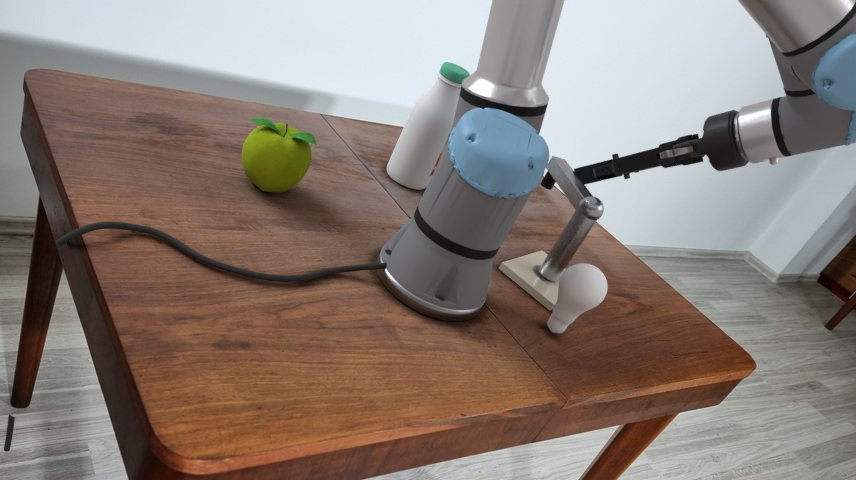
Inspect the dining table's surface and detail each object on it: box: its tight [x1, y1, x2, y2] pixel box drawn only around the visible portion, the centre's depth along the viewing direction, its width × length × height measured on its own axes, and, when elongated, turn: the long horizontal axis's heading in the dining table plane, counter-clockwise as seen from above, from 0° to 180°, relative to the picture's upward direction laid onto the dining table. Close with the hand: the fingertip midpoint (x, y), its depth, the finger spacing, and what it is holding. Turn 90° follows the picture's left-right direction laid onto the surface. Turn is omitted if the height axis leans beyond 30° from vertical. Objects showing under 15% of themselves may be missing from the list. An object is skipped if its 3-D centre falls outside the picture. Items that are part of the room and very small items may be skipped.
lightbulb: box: [546, 262, 608, 334], centre depth 94 cm, size 6×6×11 cm
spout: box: [539, 155, 605, 281], centre depth 108 cm, size 16×4×14 cm, turn 8°
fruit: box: [240, 116, 317, 193], centre depth 97 cm, size 9×9×10 cm
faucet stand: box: [498, 249, 567, 311], centre depth 107 cm, size 12×10×1 cm
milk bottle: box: [386, 61, 471, 191], centre depth 114 cm, size 8×8×20 cm
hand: (577, 177), depth 109 cm, fingers closed
